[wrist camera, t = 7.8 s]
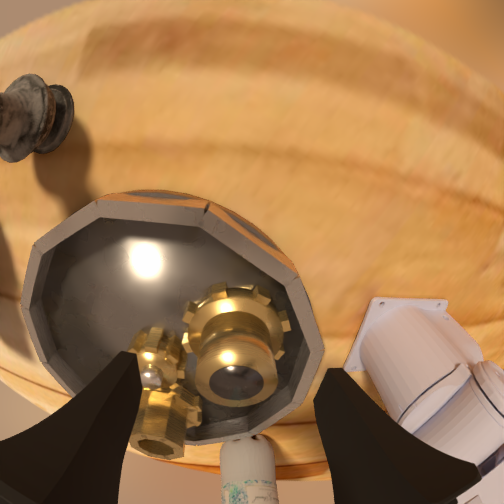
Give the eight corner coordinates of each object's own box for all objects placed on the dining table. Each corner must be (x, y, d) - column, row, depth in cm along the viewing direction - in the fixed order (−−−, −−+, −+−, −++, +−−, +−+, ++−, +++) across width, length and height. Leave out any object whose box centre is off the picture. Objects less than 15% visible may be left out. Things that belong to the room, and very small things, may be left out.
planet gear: (218, 408, 22) (217, 455, 17) (168, 427, 23) (162, 468, 18) (160, 365, 20) (147, 417, 15) (115, 391, 21) (99, 433, 16)
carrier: (345, 213, 17) (397, 248, 11) (278, 426, 26) (285, 475, 20) (26, 184, 15) (-33, 205, 9) (75, 396, 23) (56, 437, 17)
